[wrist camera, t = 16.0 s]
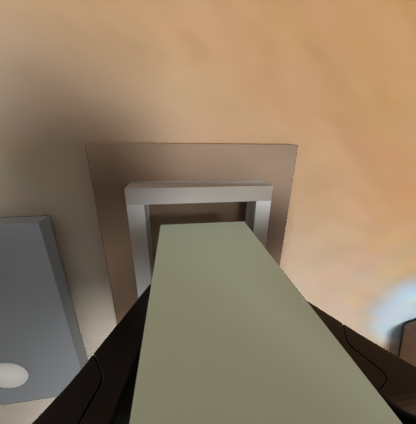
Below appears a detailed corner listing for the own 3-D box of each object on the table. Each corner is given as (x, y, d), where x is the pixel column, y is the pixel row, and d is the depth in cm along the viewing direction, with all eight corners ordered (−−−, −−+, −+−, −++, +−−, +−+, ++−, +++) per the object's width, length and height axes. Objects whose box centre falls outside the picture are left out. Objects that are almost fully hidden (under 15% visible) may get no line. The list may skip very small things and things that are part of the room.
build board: (255, 384, 20) (265, 416, 18) (136, 402, 19) (131, 440, 16) (289, 143, 13) (314, 146, 10) (92, 142, 11) (70, 144, 9)
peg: (238, 287, 12) (348, 555, 4) (165, 294, 11) (145, 615, 4) (244, 221, 10) (420, 446, 3) (160, 224, 10) (114, 516, 2)
